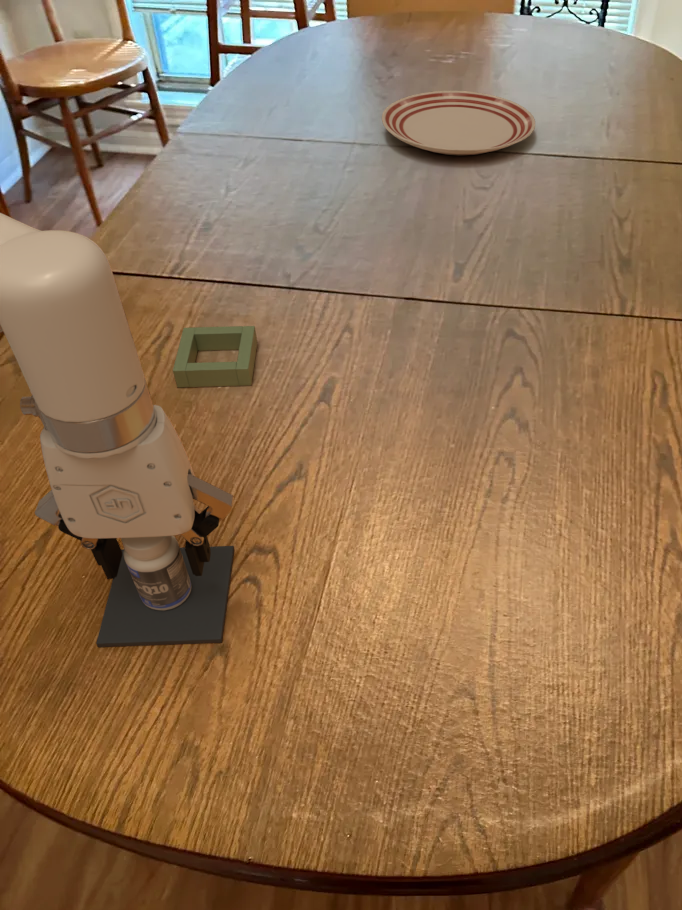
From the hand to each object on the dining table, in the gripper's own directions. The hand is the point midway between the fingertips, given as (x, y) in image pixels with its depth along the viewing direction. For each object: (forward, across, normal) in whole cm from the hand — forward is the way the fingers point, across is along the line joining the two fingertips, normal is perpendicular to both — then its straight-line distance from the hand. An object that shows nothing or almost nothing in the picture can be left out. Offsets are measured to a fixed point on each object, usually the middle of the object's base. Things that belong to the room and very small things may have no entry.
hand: (157, 564), depth 70 cm
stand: (+5, 0, +36) cm, 36 cm away
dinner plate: (+5, +36, +103) cm, 109 cm away
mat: (+5, 0, 0) cm, 5 cm away
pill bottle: (+4, 0, 0) cm, 4 cm away
